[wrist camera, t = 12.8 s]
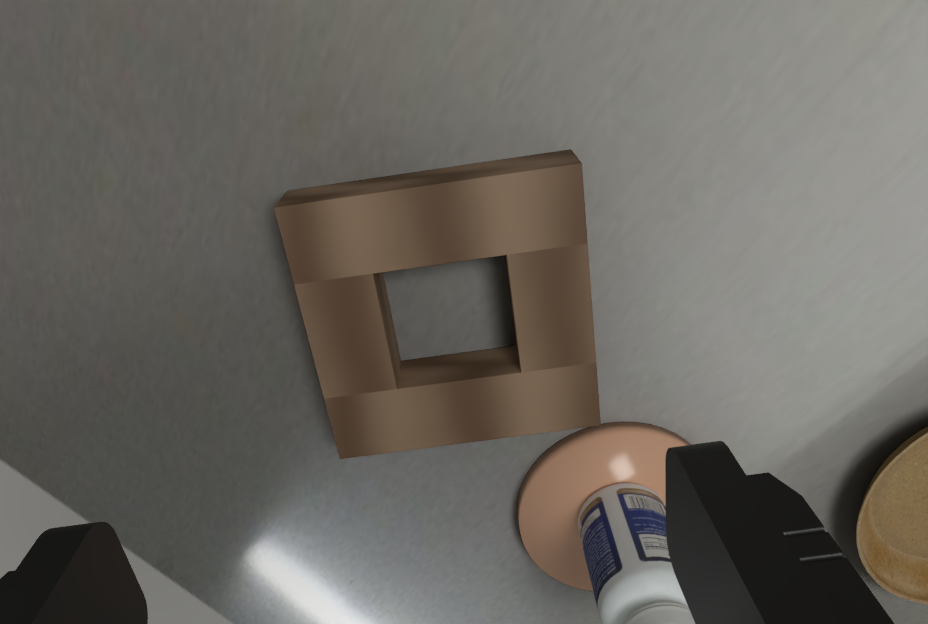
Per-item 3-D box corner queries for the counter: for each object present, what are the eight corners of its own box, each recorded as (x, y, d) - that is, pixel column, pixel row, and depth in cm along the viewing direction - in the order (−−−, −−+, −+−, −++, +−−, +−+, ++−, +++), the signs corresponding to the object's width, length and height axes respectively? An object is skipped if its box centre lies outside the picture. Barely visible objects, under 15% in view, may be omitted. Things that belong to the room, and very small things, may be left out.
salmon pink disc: (527, 588, 46) (529, 602, 44) (506, 435, 41) (508, 448, 40) (712, 566, 45) (719, 580, 44) (714, 409, 40) (721, 421, 39)
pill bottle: (598, 562, 43) (636, 709, 34) (561, 502, 41) (592, 641, 32) (679, 529, 42) (741, 671, 33) (646, 465, 40) (702, 598, 31)
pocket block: (347, 427, 40) (339, 458, 37) (287, 190, 34) (273, 207, 32) (590, 395, 40) (600, 425, 37) (571, 149, 34) (581, 163, 31)
